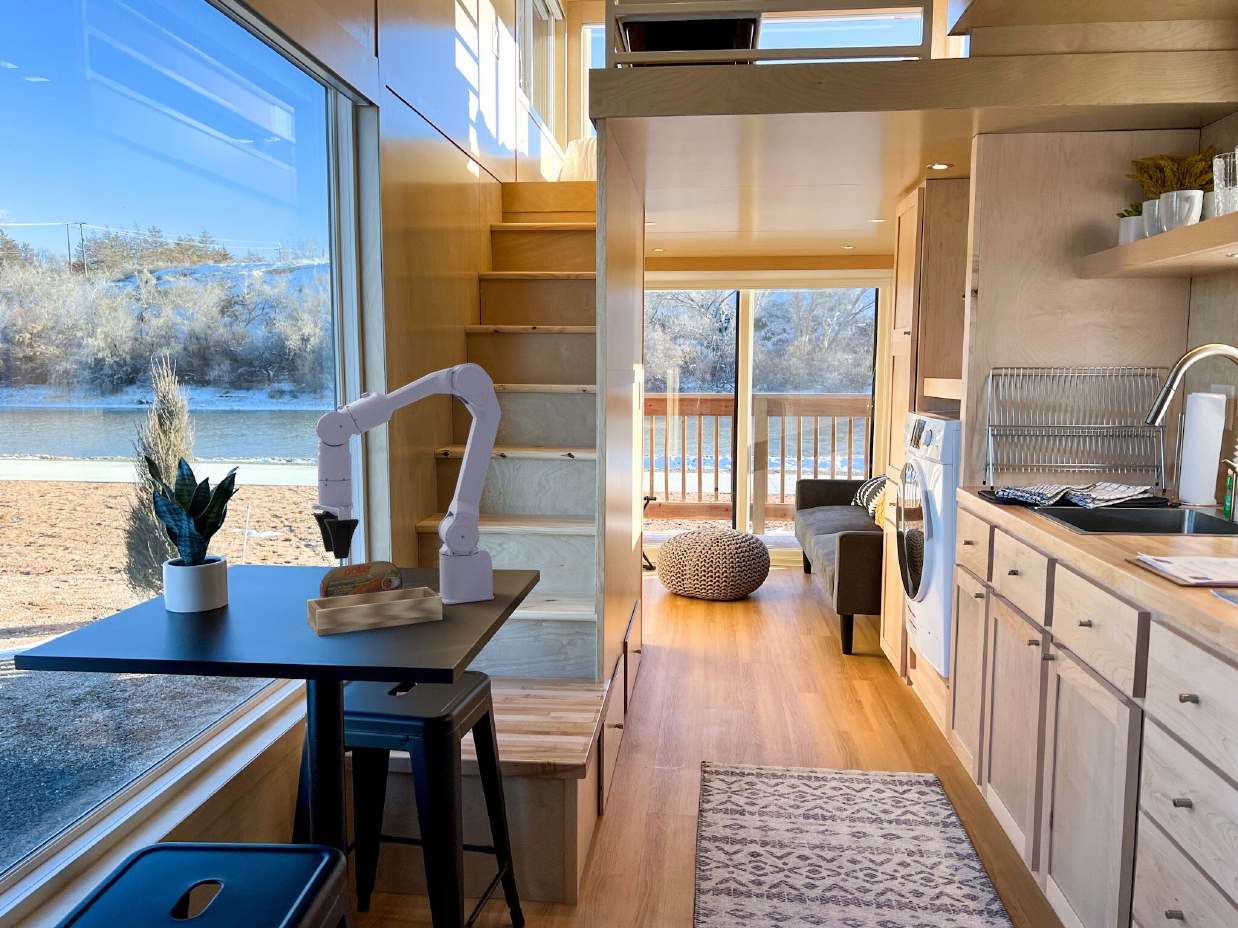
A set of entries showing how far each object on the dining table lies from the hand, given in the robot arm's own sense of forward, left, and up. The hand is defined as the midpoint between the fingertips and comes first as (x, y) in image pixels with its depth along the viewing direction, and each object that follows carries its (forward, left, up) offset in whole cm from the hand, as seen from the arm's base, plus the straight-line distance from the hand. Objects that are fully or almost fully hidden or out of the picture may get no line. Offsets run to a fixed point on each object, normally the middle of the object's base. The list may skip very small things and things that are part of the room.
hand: (336, 554), depth 161 cm
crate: (-4, +13, -10) cm, 17 cm away
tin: (-4, +3, -10) cm, 11 cm away
